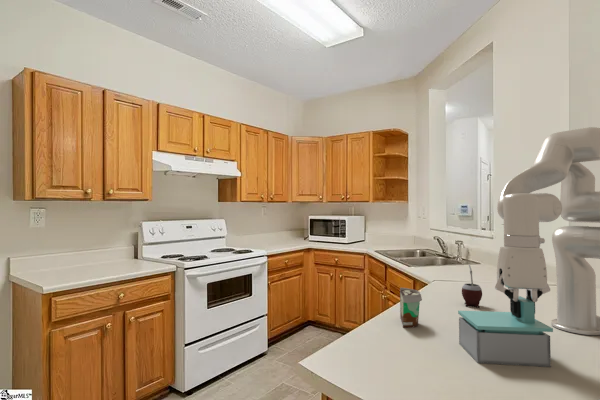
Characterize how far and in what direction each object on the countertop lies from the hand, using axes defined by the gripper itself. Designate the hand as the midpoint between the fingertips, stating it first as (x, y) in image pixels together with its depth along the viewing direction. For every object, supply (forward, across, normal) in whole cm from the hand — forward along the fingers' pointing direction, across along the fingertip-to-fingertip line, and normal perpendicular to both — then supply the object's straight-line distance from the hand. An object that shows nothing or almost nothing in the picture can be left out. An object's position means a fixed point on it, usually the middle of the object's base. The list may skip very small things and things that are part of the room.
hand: (522, 315), depth 86 cm
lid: (+3, +5, 0) cm, 6 cm away
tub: (+10, +5, 0) cm, 11 cm away
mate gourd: (+10, -6, -48) cm, 49 cm away
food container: (+10, +22, -22) cm, 33 cm away
